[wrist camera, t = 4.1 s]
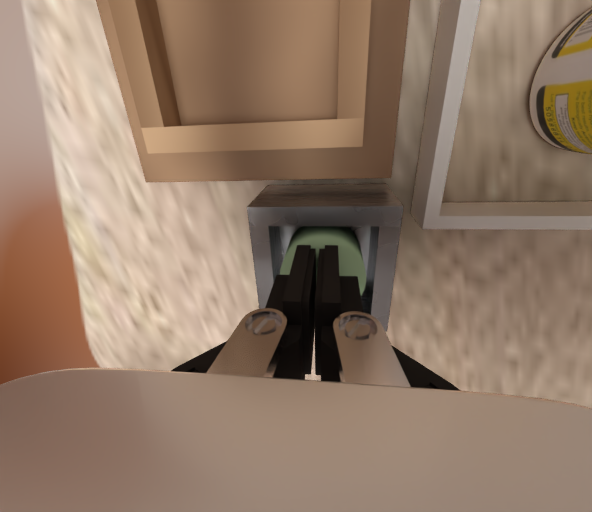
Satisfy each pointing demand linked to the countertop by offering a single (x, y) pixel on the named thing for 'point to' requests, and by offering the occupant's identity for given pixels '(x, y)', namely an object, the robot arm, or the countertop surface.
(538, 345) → the countertop surface
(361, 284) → the button
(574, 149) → the supplement bottle
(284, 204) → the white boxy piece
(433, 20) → the countertop surface
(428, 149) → the frame
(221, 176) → the brown wooden square tray
